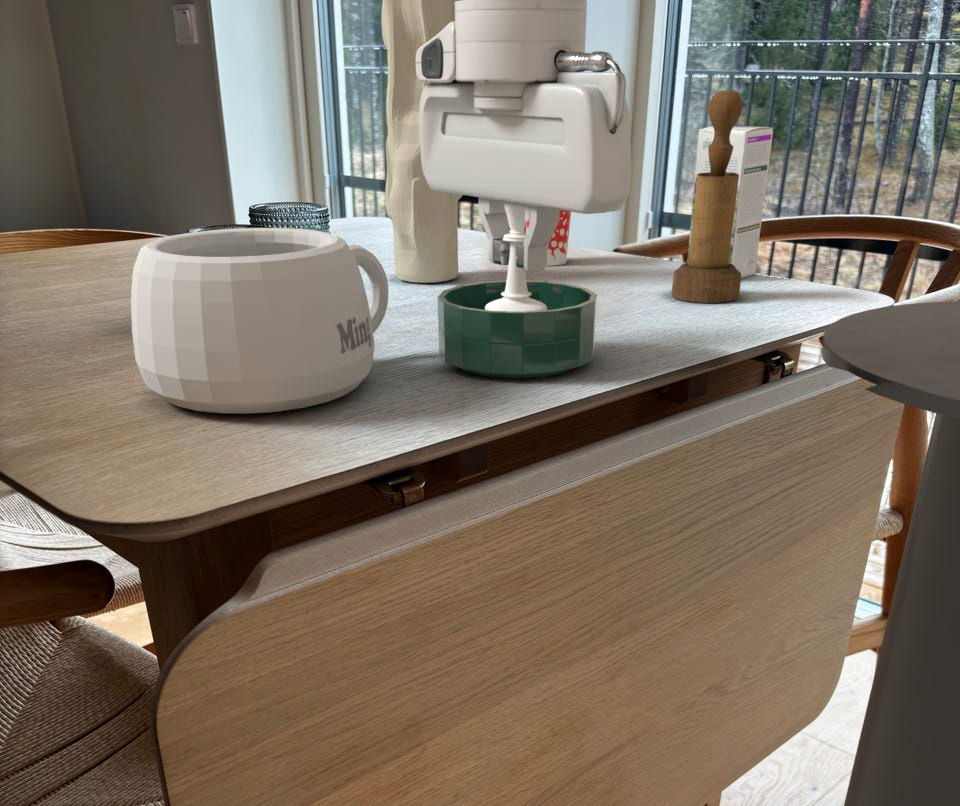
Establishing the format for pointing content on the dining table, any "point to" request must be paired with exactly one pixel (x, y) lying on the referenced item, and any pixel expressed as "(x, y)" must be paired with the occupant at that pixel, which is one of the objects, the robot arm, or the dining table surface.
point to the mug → (254, 318)
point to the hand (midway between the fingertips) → (516, 267)
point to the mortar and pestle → (713, 216)
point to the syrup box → (742, 188)
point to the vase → (415, 149)
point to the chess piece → (515, 268)
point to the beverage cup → (558, 240)
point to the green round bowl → (517, 330)
